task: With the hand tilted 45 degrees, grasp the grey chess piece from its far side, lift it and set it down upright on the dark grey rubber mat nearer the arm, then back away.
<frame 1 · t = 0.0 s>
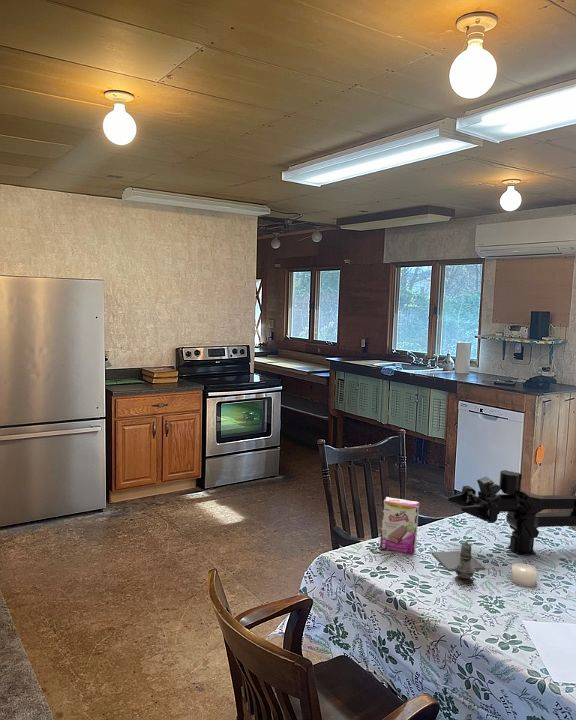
hand: (454, 504, 189), 17 cm above the table, tool horizontal, fingers open, 9 cm apart
mat: (457, 561, 184), on the table
candy bar box: (397, 550, 191), on the table
grey chess piece: (463, 580, 172), on the table
cream rounded squat cylinder: (523, 581, 173), on the table
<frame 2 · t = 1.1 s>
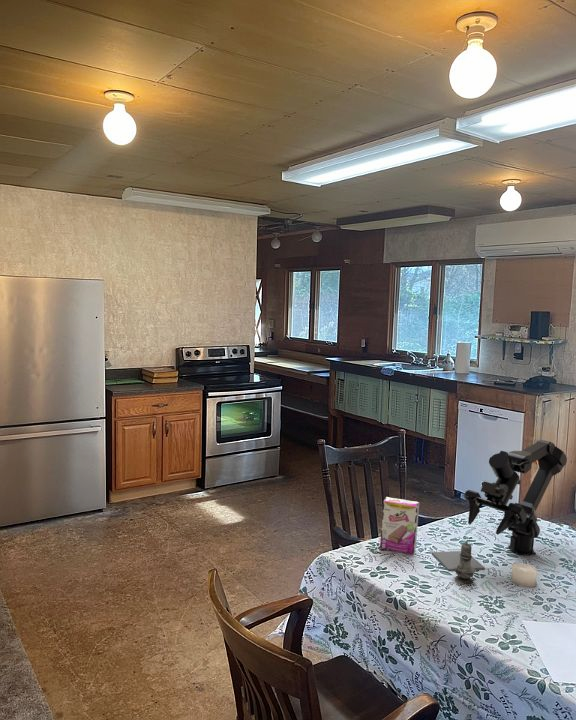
hand: (482, 528, 176), 14 cm above the table, tool tilted 45°, fingers open, 9 cm apart
nothing on the table moved.
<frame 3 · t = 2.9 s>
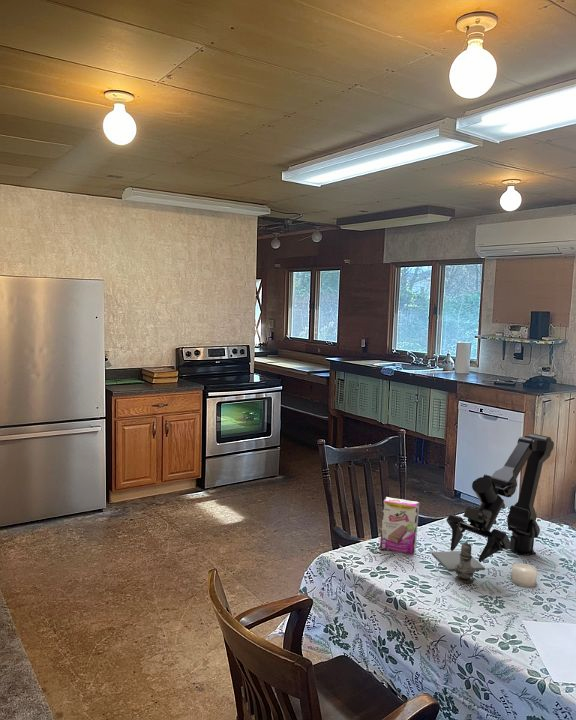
hand: (465, 555, 171), 8 cm above the table, tool tilted 45°, fingers open, 9 cm apart
nothing on the table moved.
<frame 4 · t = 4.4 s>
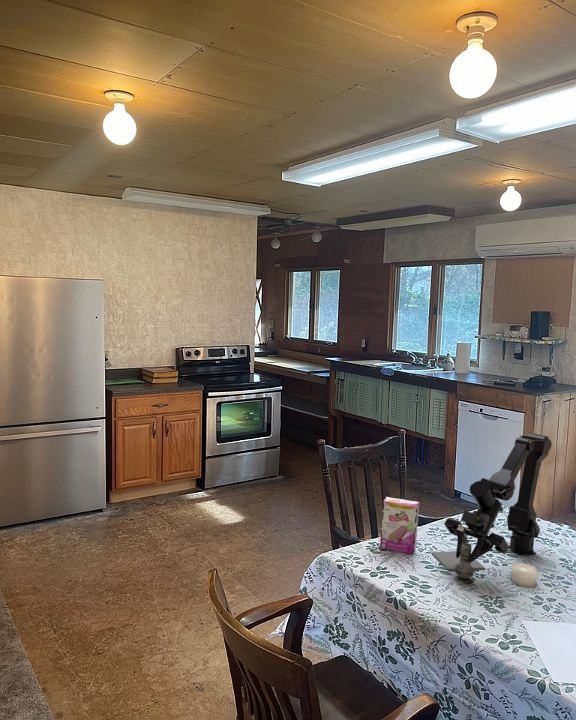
hand: (462, 559, 170), 7 cm above the table, tool tilted 45°, fingers closed on grey chess piece, 4 cm apart
grey chess piece: (463, 580, 172), on the table, touching gripper
everything else where it was.
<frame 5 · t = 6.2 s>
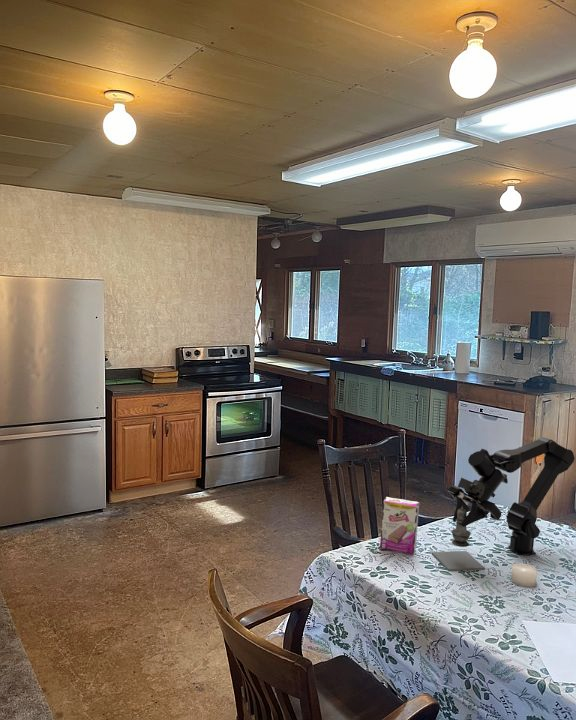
hand: (458, 523, 181), 13 cm above the table, tool tilted 45°, fingers closed on grey chess piece, 4 cm apart
grey chess piece: (460, 544, 183), point 6 cm above the table, touching gripper
everything else where it was.
when the fingers open (8 cm above the table, at t = 8.1 s): grey chess piece drops 1 cm, resting on mat.
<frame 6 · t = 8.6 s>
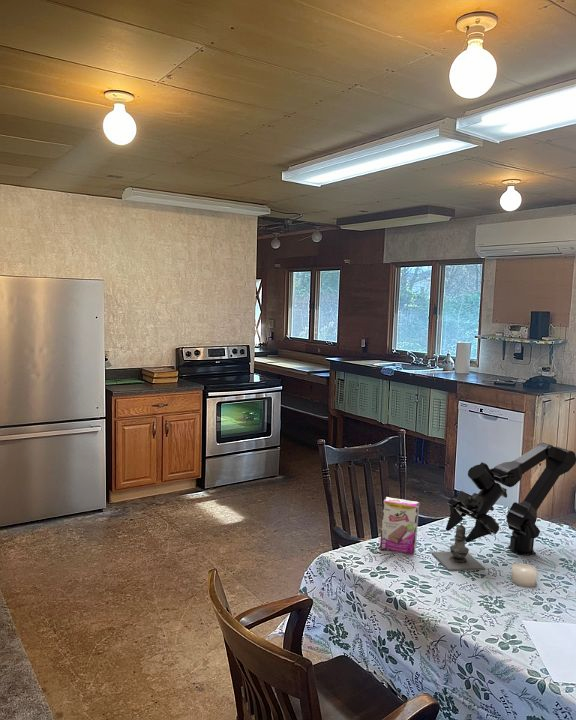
hand: (456, 535, 183), 9 cm above the table, tool tilted 45°, fingers open, 9 cm apart
grey chess piece: (458, 560, 184), resting on mat
everything else where it was.
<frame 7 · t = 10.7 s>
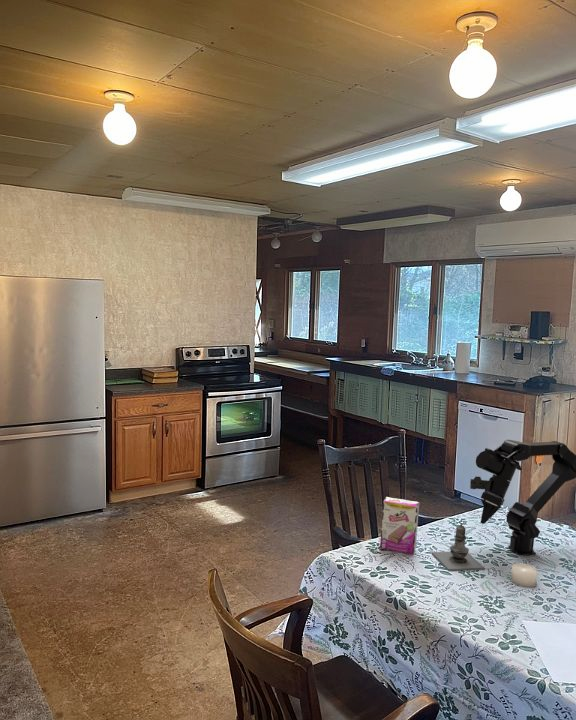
hand: (483, 522, 188), 11 cm above the table, tool tilted 20°, fingers open, 9 cm apart
nothing on the table moved.
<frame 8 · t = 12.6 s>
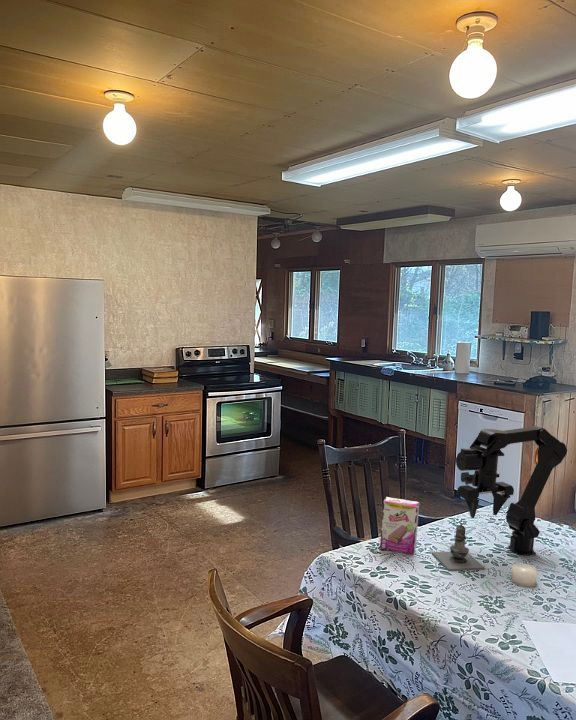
hand: (483, 516, 189), 13 cm above the table, tool pointing down, fingers open, 9 cm apart
nothing on the table moved.
at the end: grey chess piece 0.2 cm from the mat (horizontally); grey chess piece tilted 0°; the gripper is holding nothing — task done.
